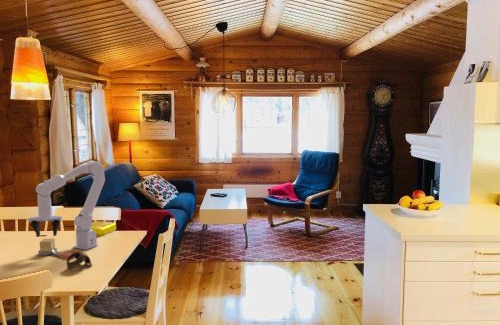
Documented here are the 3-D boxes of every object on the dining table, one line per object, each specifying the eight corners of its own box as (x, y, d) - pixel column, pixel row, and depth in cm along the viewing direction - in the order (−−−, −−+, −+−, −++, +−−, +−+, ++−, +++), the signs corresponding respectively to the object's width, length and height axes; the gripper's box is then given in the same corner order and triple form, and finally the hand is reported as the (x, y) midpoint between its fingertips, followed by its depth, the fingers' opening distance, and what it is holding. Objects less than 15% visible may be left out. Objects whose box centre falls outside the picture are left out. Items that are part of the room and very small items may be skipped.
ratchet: (80, 255, 192) (80, 246, 191) (66, 261, 185) (66, 251, 184) (49, 249, 201) (48, 240, 200) (34, 254, 194) (34, 245, 193)
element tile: (96, 228, 241) (95, 220, 241) (117, 229, 237) (117, 221, 236) (78, 235, 227) (78, 226, 227) (101, 237, 223) (100, 228, 222)
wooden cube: (55, 248, 198) (54, 238, 198) (51, 251, 193) (50, 241, 193) (44, 248, 198) (43, 238, 197) (40, 252, 193) (39, 241, 192)
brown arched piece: (94, 269, 175) (84, 256, 171) (74, 281, 173) (63, 268, 169) (91, 254, 185) (82, 242, 181) (72, 265, 183) (62, 253, 179)
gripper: (63, 205, 198) (65, 232, 199) (32, 206, 196) (34, 233, 198) (58, 209, 191) (60, 236, 192) (26, 210, 189) (28, 238, 191)
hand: (46, 235), depth 195 cm, fingers open, 7 cm apart
